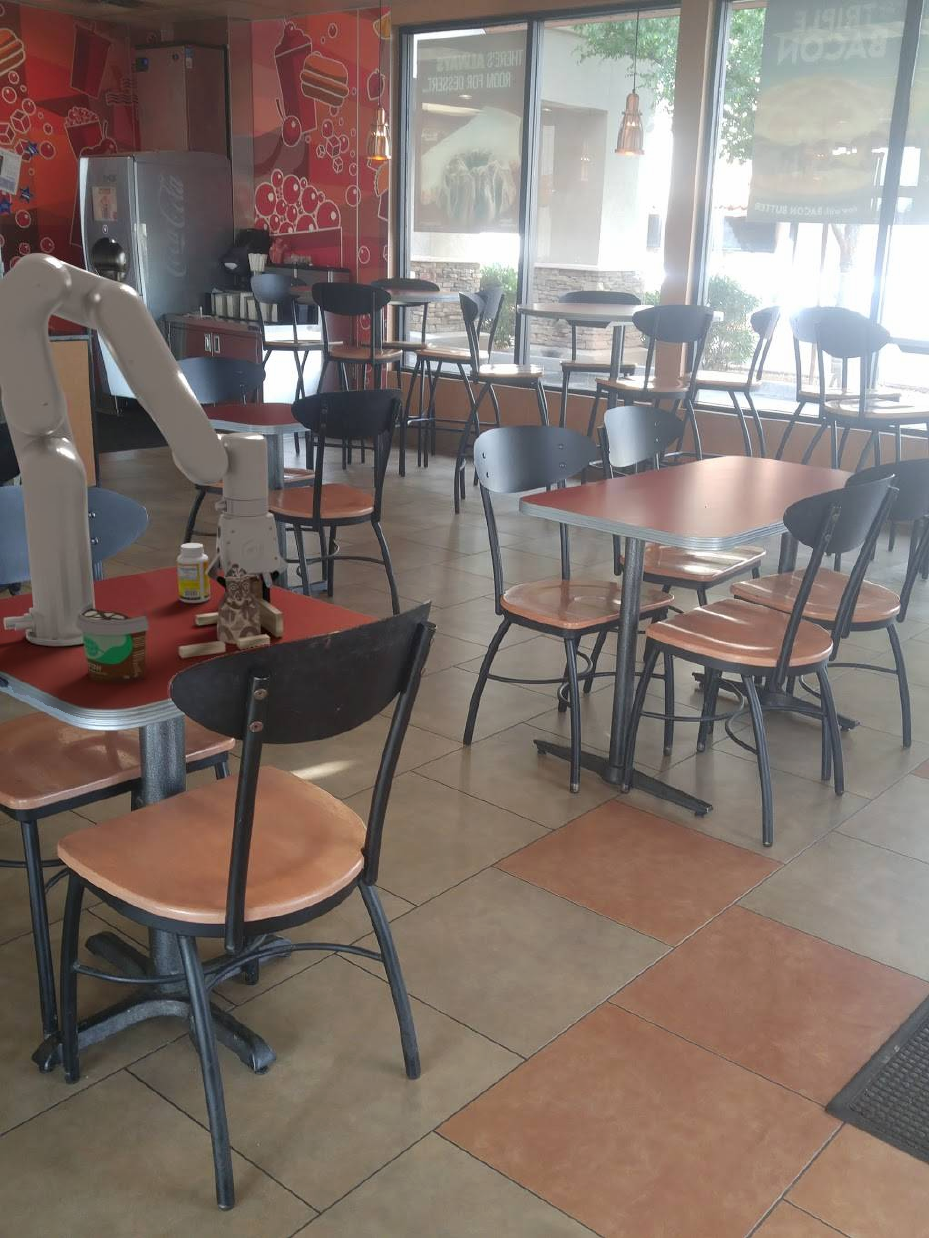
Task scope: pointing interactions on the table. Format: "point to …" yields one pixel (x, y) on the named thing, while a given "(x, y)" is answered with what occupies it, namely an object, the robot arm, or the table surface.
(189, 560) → the supplement bottle
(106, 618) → the food container
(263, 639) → the broken slat
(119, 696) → the table surface
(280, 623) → the rake strip
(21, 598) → the table surface
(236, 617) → the figurine
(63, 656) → the table surface
